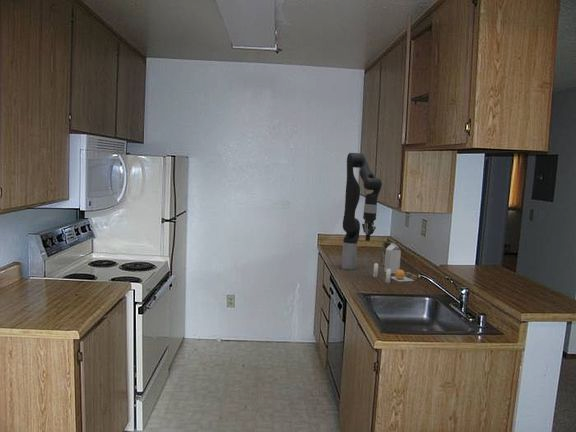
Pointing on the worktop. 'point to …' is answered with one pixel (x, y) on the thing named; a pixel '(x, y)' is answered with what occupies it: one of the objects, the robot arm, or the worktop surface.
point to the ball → (399, 274)
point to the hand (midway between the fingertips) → (367, 240)
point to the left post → (375, 270)
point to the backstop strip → (411, 276)
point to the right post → (388, 275)
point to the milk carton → (392, 258)
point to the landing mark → (402, 279)
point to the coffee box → (384, 251)
